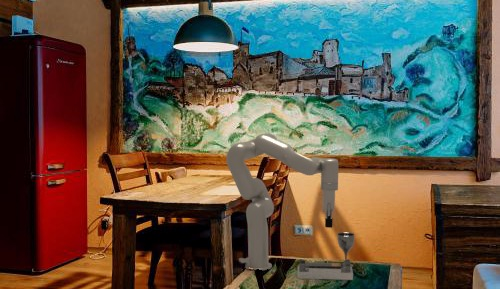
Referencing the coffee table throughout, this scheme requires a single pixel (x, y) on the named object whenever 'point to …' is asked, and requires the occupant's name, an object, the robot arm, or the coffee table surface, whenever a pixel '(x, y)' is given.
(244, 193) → the robot arm
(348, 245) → the wine glass
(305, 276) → the grey flat base
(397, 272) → the coffee table surface
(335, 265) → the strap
